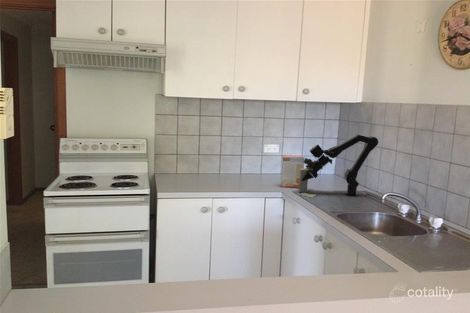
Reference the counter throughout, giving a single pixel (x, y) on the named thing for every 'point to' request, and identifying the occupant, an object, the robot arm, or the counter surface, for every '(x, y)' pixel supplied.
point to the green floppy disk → (307, 194)
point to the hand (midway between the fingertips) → (301, 179)
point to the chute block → (303, 183)
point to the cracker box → (291, 170)
